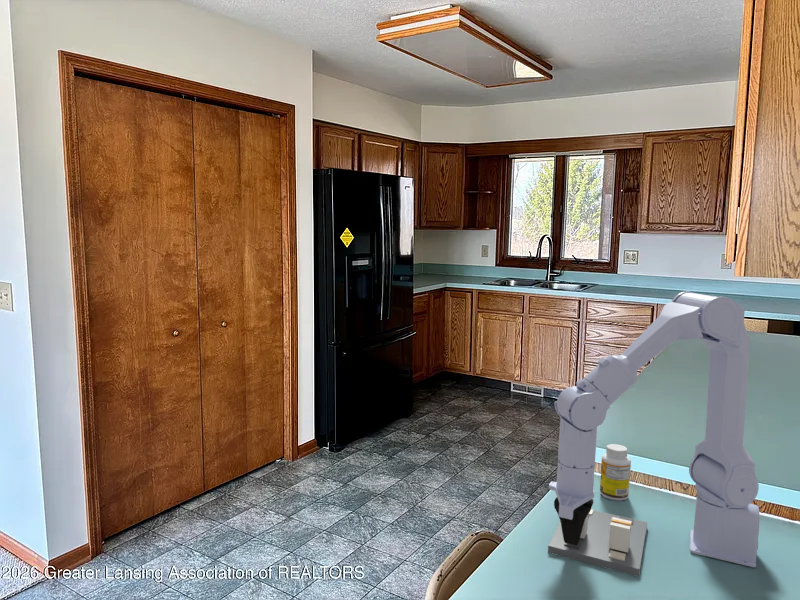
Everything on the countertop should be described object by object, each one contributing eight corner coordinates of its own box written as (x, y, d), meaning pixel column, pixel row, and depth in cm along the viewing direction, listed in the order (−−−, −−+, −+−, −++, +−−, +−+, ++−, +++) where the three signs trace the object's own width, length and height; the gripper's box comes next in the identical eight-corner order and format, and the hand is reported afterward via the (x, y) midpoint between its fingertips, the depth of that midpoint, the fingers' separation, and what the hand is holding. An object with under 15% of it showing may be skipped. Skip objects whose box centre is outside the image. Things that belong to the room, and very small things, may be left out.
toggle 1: (587, 530, 100) (588, 507, 100) (584, 538, 97) (585, 514, 97) (569, 526, 101) (570, 503, 101) (566, 534, 99) (567, 510, 98)
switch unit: (646, 528, 105) (647, 521, 104) (638, 576, 90) (639, 568, 89) (567, 510, 111) (568, 503, 111) (547, 552, 96) (548, 544, 96)
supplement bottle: (604, 487, 122) (608, 440, 121) (632, 495, 118) (635, 446, 117) (595, 496, 118) (598, 447, 116) (623, 504, 114) (626, 454, 113)
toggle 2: (629, 544, 96) (631, 520, 96) (628, 552, 93) (629, 527, 93) (610, 539, 97) (612, 515, 97) (608, 547, 95) (610, 523, 94)
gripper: (560, 443, 101) (555, 517, 103) (540, 472, 88) (536, 556, 90) (602, 451, 98) (597, 527, 100) (588, 482, 85) (583, 569, 87)
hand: (571, 542), depth 95 cm, fingers closed
